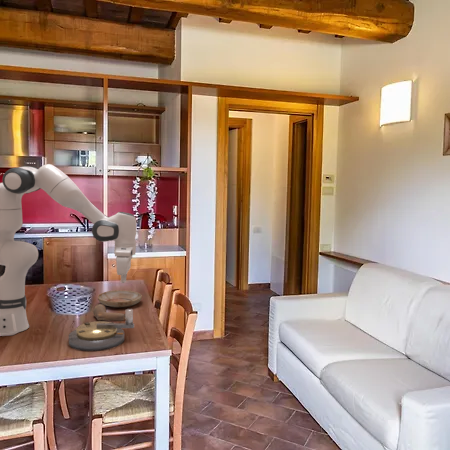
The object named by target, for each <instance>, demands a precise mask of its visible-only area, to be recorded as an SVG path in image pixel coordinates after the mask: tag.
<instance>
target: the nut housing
mask: <svg viewBox="0 0 450 450" xmlns="http://www.w3.org/2000/svg"><path fill="white" fill-rule="evenodd" d="M124 342H125V331H124V328H117V334H116V335H115V336H114V337H111V338H109V339H105V340H98V341H88V340H82V339H79V338H78V337H77V336H76V329H74V330H72V331H71V332H70V333H69V334H68V346H70V348H71V349H73V350H77V351H83V352H100V351H106V350H110V349H113V348H116V347H118V346H120V345H122V344H123V343H124Z"/></svg>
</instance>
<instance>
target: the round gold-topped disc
mask: <svg viewBox="0 0 450 450" xmlns="http://www.w3.org/2000/svg"><path fill="white" fill-rule="evenodd" d="M124 312H125V313H124V314H125V319H124V321H125V323H122V322H121V323H118V322H116V323H115V322H112V321H106V320H98V321H90V322H88V321H86V322H84V323H82V324H80V325H78V326H77V327H76V328H75V330H76V336H77V337H78V338H79V339H82V340H88V341H98V340H105V339H109V338H111V337H114V336H115V335H116V334H117V328H121V329H135V323H134V309H133V308H127V309H125V311H124Z"/></svg>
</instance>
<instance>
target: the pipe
mask: <svg viewBox="0 0 450 450" xmlns="http://www.w3.org/2000/svg"><path fill="white" fill-rule="evenodd" d="M106 308H107V307H106V305H104V304H102V303H98V304H96V305H95V306H94V307H93V309H92V314H93V316H94V317H95V318H96V319H97V320H98V321H105V322H112V321H114V322H124V321H125V313H118V312H107V309H106Z"/></svg>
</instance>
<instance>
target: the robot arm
mask: <svg viewBox="0 0 450 450" xmlns="http://www.w3.org/2000/svg"><path fill="white" fill-rule="evenodd" d="M1 180H2V182H0V265H1V266H5V269H4V273H3V274H2V275H1V276H0V337H1V336H2V337H5V336H14V335H16V334H18V333H20V332H21V333H22V332H23V331H26V330H27V329H28V328H30V325H29V321H28V316H27V311H26V310H27V297H26V296H27V295H26V294H25V293H26V291H25V290H26V288H25V287H26V278H27V277H26V276H27V274H28V272H29V270H30V268H31V267H33V265H35V263H37V260H38V259H39V250H38V247H37V246H36V245H34V244H32V243H30V242H26V241H19V240H15V234H16V232H17V231H20V229H21V228H22V226H23V222H24V221H23V209H22V208H23V207H22V200H23V199H22V198H23V196H24V195H25V194H26V195H28V194H30V193H33V192H34V193H35V192H37V191H39V190H42V191H44V192H45V193H46V194H47V195H48V196H49V197H50V198H51V199H53V201H55V202H56V203H58V204H59V205H60V206H62V207H64V208H68V209H71V210H75V211H77V212H78V213H81V214H82V215H83V217H85V218H86V219H87V220H89V221H90V223H92V227H91V234H92V236H93V238H94V239H95V240H96V241H98V242H102V243H103V242H104V243H105V242H110V241H111V242H112V241H114V249H113V250H114V252H113V253H114V257H116V259H115V262H116V263H115V264H116V265H115V266H116V274H117V275H118V276H120V282H121V284H125V283H126V282H127V277H128V272H129V271H130V269H131V266H132V264H131V263H132V262H131V261H132V258H133V256H135V255H136V252H137V251H136V249H137V245H136V244H137V243H136V236H137V217H135V215H134V214H133V213H129V212H126V211H125V212H124V211H118V212H117V213H115V214H114V215H111V216H108V215H106V214H104V213H103V212H102V211H101V210H100V209H99V208H98V207H97V206H96V205H94V203H92V202H91V200H89V199H88V197H86V194H84V192H83V191H82V190H81V189H80V188H79V186H78V185H77V184H76V183H75V182H74V181H73V179H71V178H70V176H68V175H67V174H66V173H65V172H63V171H62V170H61V169H60V168H58V167H57V166H55V165H53V164H51V163H47V164H43V165H41V166H40V167H39V168H38V167H35V166H20V167H12V168H9V169H8V170H6V171H5V173H4V174H3V176H2V179H1Z"/></svg>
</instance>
